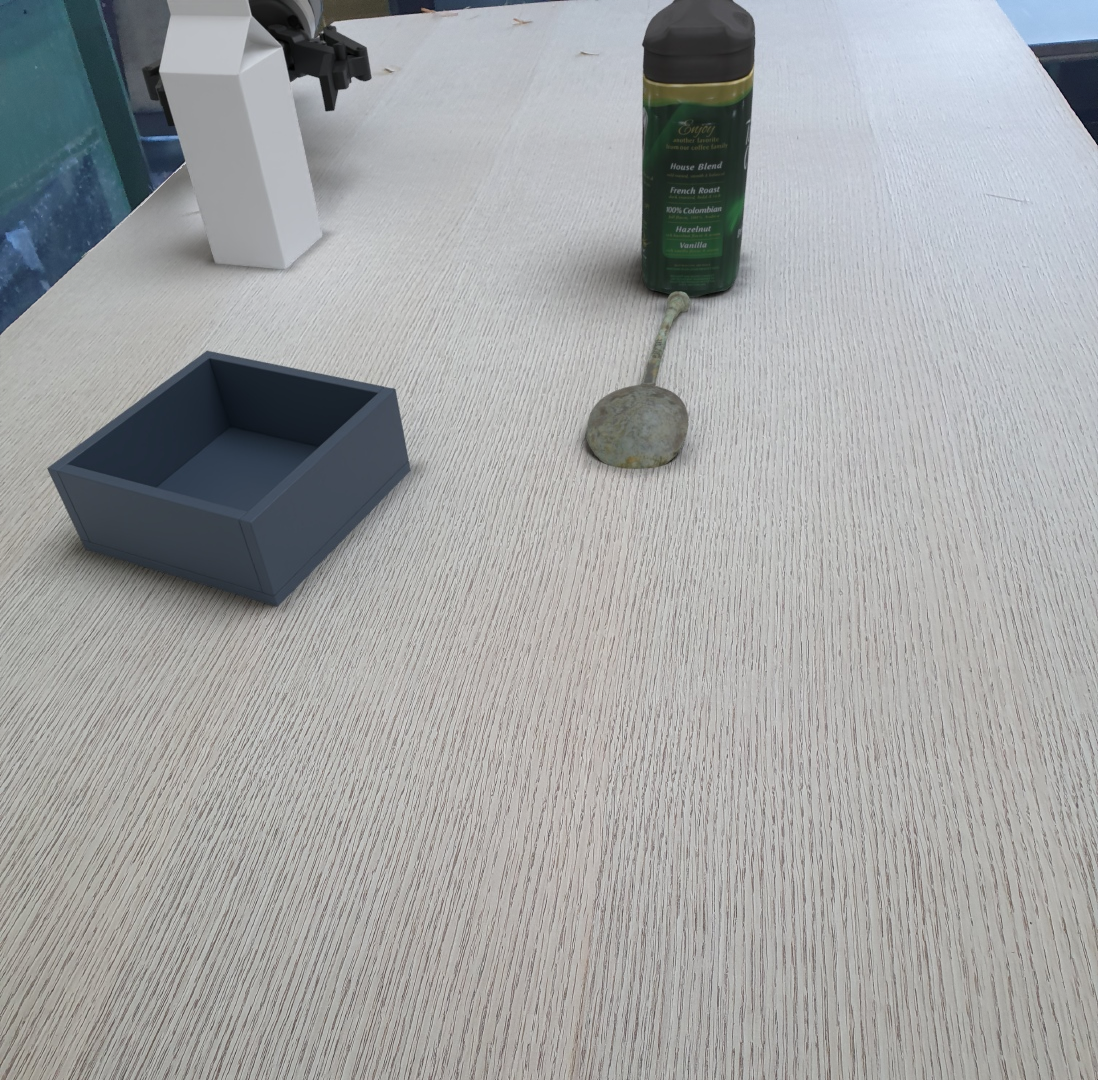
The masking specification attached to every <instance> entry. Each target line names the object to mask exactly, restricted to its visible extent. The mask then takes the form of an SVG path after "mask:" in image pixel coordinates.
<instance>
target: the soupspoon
mask: <svg viewBox="0 0 1098 1080" xmlns="http://www.w3.org/2000/svg"><path fill="white" fill-rule="evenodd" d="M666 304H667V308H666V310H665V316H664V318H663V319H662V320H663V321H662V323H661V325H660V327H659V330H658V332H657V336H656V338H655V341H654V344H653V347H652V350H651V353H650V356H649V359H648V361H647V363H646V367H645V370H644V373H643V377H642V380H641V382H640V384H635V385H630V386H626V387H621V388H619V389H617V390H614V391H612V392H610V393H608V394H607V395H604V396H603V397H602V398H601V399H599V401H597V403H596V404H595V405H594V406H593V407H592V409H591V411H590V414H589V416H588V419H587V424H586V434H585V438H586V443H587V445H588V446H589V448H590V449H591V451H592V452H593V455H594V456H595V457H597V458H598V459H599V461H600V462H602V463H604V464H605V465H607V466H610V467H613V468H618V469H624V470H625V469H627V470H646V469H655V468H659V467H663V466H665V465H666V464H668V463H670V461H672V460H673V459H674V458H675V457H676V456H677V455H678V454H679V451H681V449H682V447H683V445H684V443H685V441H686V438H687V435H688V430H689V421H690V420H689V414H688V409H687V407H686V404H685V402H684V401H683V400H682V398H681V397H679V395H678V394H677V393H675V392H673V391H671V390H669V389H667V388H665V387H662V386H657V380H658V374H659V369H660V366H661V362H662V358H663V355H664V351H665V349H666V345H667V340H668V336H669V333H670V330H671V329H672V328H671V327H672V325H673V322H674V320H676V318H677V317H678V316H679V314H680V313H686V312H687V311H688V310H689V309H690V306H691V298H690V297H688V295H687V294H686V293H684V292H681V291H680V292H673V293H671V294H668V297H667V299H666Z"/></svg>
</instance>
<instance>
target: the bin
mask: <svg viewBox="0 0 1098 1080" xmlns="http://www.w3.org/2000/svg"><path fill="white" fill-rule="evenodd" d="M398 400H399V399H398V394H397V390H396V388H393V387H388V386H384V385H380V384H374V383H370V382H364V381H359V380H354V379H349V378H345V377H340V376H336V375H335V376H334V375H330V374H324V373H319V372H315V371H309V370H305V369H300V368H294V367H291V366H290V367H289V366H285V365H281V364H275V363H270V362H265V361H261V360H255V359H250V358H246V357H245V358H244V357H240V356H236V355H231V354H227V353H221V352H216V351H212V350H206V351H204V352H202V354H201V355H199V356H197V358H195V359H193V360H192V361H191V362H189V363H188V364H187V365H185V366H183V368H181V369H180V370H178V371H177V372H175V373H174V374H173V375H172V376H170V377H169V378H168V379H166V380H165V381H163V382H162V383H161V384H160V385H158V386H157V387H155V388H154V389H153V390H151V391H150V392H149V393H147V394H146V395H145V396H143V397H142V398H141V399H139V400H138V401H136V402H135V403H133V404H132V405H131V406H130V407H128V408H127V409H125V410H124V411H123V412H122V413H120V414H118V415H117V416H116V417H114V418H113V419H112V420H110V421H109V422H108V423H106V424H105V425H104V426H102V427H101V428H100V429H98V430H97V431H95V432H94V433H92V434H91V435H90V436H88V437H87V438H86V439H84V440H83V441H82V442H80V443H79V444H78V445H76V446H75V447H74V448H72V449H71V450H69V451H68V452H67V453H66V454H64V455H63V456H61V457H60V458H59V459H57V460H56V461H54V463H52V464H50V465H49V466H47V471H48V473H49V476H50V478H51V480H52V482H53V484H54V486H55V488H56V491H57V493H58V495H59V498H60V499H61V501H62V504H63V505H64V508H65V510H66V512H67V514H68V516H69V518H70V520H71V523H72V525H73V527H74V529H75V531H76V533H77V535H78V537H79V539H80V541H81V544H82V546H83V548H84V550H86V551H89V552H92V553H96V554H99V555H103V556H106V557H109V558H112V559H116V560H119V561H122V562H126V563H130V564H133V565H136V566H139V567H142V568H146V569H149V570H153V571H155V572H160V573H162V574H166V575H168V576H169V575H170V576H173V577H176V578H180V579H183V580H185V581H186V580H187V581H190V582H193V583H195V584H199V585H203V586H206V587H210V588H213V589H215V590H220V591H223V592H226V593H230V594H234V595H236V596H240V597H243V598H247V599H249V600H254V601H256V602H260V603H262V604H263V603H264V604H267V605H269V606H273V607H280V605H281V604H282V603H283V602H284V601H285V600H286V599H287V598H288V597H289V596H290V595H291V594H292V593H293V592H294V591H295V590H296V589H297V588H298V587H299V586H300V585H301V584H302V583H303V582H304V581H305V580H306V579H307V577H309V576H310V575H311V574H312V573H313V571H314V570H315V569H316V568H317V567H318V566H319V565H320V564H321V563H322V562H323V561H324V560H326V558H327V557H328V556H329V555H330V554H332V552H333V551H334V550H335V549H336V548H337V547H338V546H339V545H340V544H341V543H342V541H344V540H345V539H346V537H348V536H349V535H350V534H351V533H352V531H354V529H355V528H356V527H357V526H359V525H360V524H361V522H362V521H363V520H364V519H365V518H367V516H368V515H369V514H370V513H371V512H372V511H373V510H374V509H375V508H376V507H377V506H378V505H379V504H380V503H381V502H382V501H383V499H385V498H386V497H387V495H389V494H390V493H391V492H392V491H393V489H394V488H396V486H397V485H398V484H399V483H400V482H401V481H402V480H404V478H405V477H406V476H407V475H408V474H409V473H410V472H411V471H412V470H411V466H410V465H411V464H410V460H409V455H408V454H409V453H408V449H407V444H406V437H405V432H404V427H403V421H402V416H401V411H400V406H399V405H400V404H399V401H398Z"/></svg>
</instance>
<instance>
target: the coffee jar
mask: <svg viewBox="0 0 1098 1080" xmlns="http://www.w3.org/2000/svg"><path fill="white" fill-rule="evenodd" d="M641 47H643V56H642V57H643V59H642V114H641V115H642V120H641V121H642V122H641V123H642V126H641V127H642V129H641V131H642V132H641V134H642V136H641V149H642V150H641V152H642V153H641V199H642V200H641V235H640V239H641V241H640V242H641V243H640V244H641V245H640V247H641V248H640V249H641V251H640V253H641V254H640V259H641V261H640V263H641V265H640V267H641V268H640V269H641V272H640V273H641V278H642V282H643V284H644V285H645V286H646V287H647V289H649V290H651V291H656V292H660V293H663V294H667V295H670V294H671V293H673V292H680V291H681V292H684V293H686V294H687V295H688V297H689V298H694V297H702V296H705V295H708V294H709V295H710V294H714V293H718V292H724V291H727V290H728V289H729V288H731V287H732V286H733V284H734V283H735V282H736V280H737V277H738V273H739V270H740V263H741V262H740V261H741V250H742V243H743V242H742V240H743V229H744V228H743V226H744V214H745V213H744V212H745V201H746V190H747V179H748V169H749V156H750V145H751V143H750V142H751V130H752V129H751V127H752V115H753V99H754V97H753V96H754V76H755V75H754V74H755V63H756V62H755V60H756V59H755V57H756V56H755V51H756V50H755V49H756V24H755V20H754V17H753V15H752V14H751V12H749V11H747V9H745V8H744V7H742V6H741V5H740V4H738V3H737V2H735V1H734V0H673V1H672V2H671V3H670V4H669V5H667V6H665V7H663V8H662V9H661V10H659V11H658V12H657V13H655V15H653V16H652V17H651V20H650V21H649V22H648V25H647V26H646V30H645V33H644V36H643V40H642V43H641Z"/></svg>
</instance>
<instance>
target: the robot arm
mask: <svg viewBox="0 0 1098 1080" xmlns="http://www.w3.org/2000/svg"><path fill="white" fill-rule="evenodd" d="M248 2H249V6H250V11H251V15H252V16H253V17H254V18H255V19H256V20H257V21H258V22H259V23H260V24H261V25H262V26H263V27H264V28H265V29H266V30H267V31H268V32H269V33H270V35H271V36H272V37H273V38H274V39H275V40H276V41H277V42H278V43H279V44H280V45H281V46H282V48H283V52H284V57H285V61H286V66H287V70H288V75H289V80H290V83H292V82H294V81H295V80H297V79H298V78H299V79H301V78H303V77H307V76H310V77H313V78H316V79H318V81H319V85H320V86H319V87H320V90H321V95H322V96H321V97H322V100H323V105H324V111H325V112H334V111H335V109H336V104H337V100H338V96H339V95H338V94H339V91H342V90H343V91H344V90H347V89H349V87H350V84H351V83H353V82H352V78H355V79H356V80H358V81H360V82H369V81H371V80H372V79H373V78H372V77H373V76H372V70H371V64H370V58H369V52H368V47H367V46H365V45H363V44H361V43H360V42H357V41H355V40H354V39H352V38H350V37H348V36H346V35H344V34H343V33H341V32H339V31H337V30H338V29H337V26H335V25H332V24H328V25H326V26H324V27H323V30H319V31H318V29H319V26H320V24H321V23H320V22H321V20H322V13H323V11H324V7H323V0H248ZM317 31H318V36H316V37H315V34H316V32H317ZM161 59H162V57H161V58H159V59H157V60H155V61H153V62H151V63H149V64H148V65H147V64H146V65H145V66H144V67H141V73H142V76H143V80H144V83H145V85H146V89H147V92H148V95H149V99H150V100H151V101H155V102H157V101H159V104H160V107H162V109H163V112H164V113H163V114H164V116H165V119H166V123H167V126H168V127H175V124H174V120H173V117H172V114H171V110H170V107H169V103H168V100H167V96H166V93H165V89H164V86H163V83H162V79H161V76H160V72H159V69H160V64H161Z"/></svg>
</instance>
